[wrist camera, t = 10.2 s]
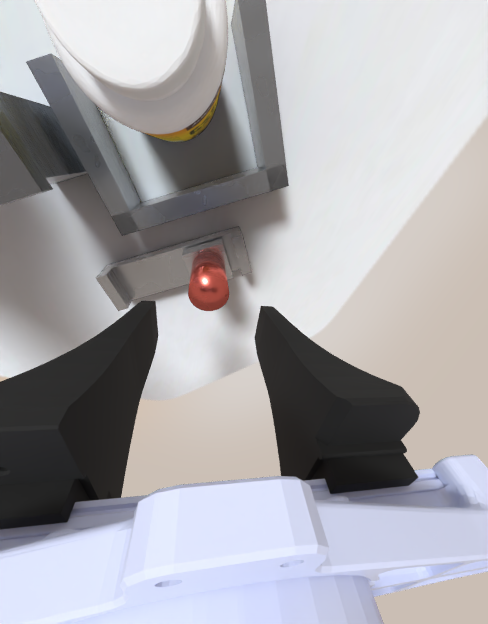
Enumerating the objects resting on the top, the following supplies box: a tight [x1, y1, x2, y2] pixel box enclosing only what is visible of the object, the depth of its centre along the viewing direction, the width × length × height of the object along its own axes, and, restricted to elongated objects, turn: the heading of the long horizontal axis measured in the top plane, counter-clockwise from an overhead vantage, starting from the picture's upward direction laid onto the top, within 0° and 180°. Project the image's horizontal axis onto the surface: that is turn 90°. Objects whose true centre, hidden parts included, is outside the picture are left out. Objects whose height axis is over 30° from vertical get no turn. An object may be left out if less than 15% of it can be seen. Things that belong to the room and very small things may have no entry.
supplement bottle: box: [34, 0, 228, 142], centre depth 9 cm, size 6×6×10 cm
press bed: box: [0, 0, 288, 236], centre depth 12 cm, size 15×8×8 cm, turn 104°
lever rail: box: [96, 226, 252, 311], centre depth 19 cm, size 11×3×2 cm, turn 104°
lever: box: [182, 239, 233, 311], centre depth 16 cm, size 3×3×5 cm
